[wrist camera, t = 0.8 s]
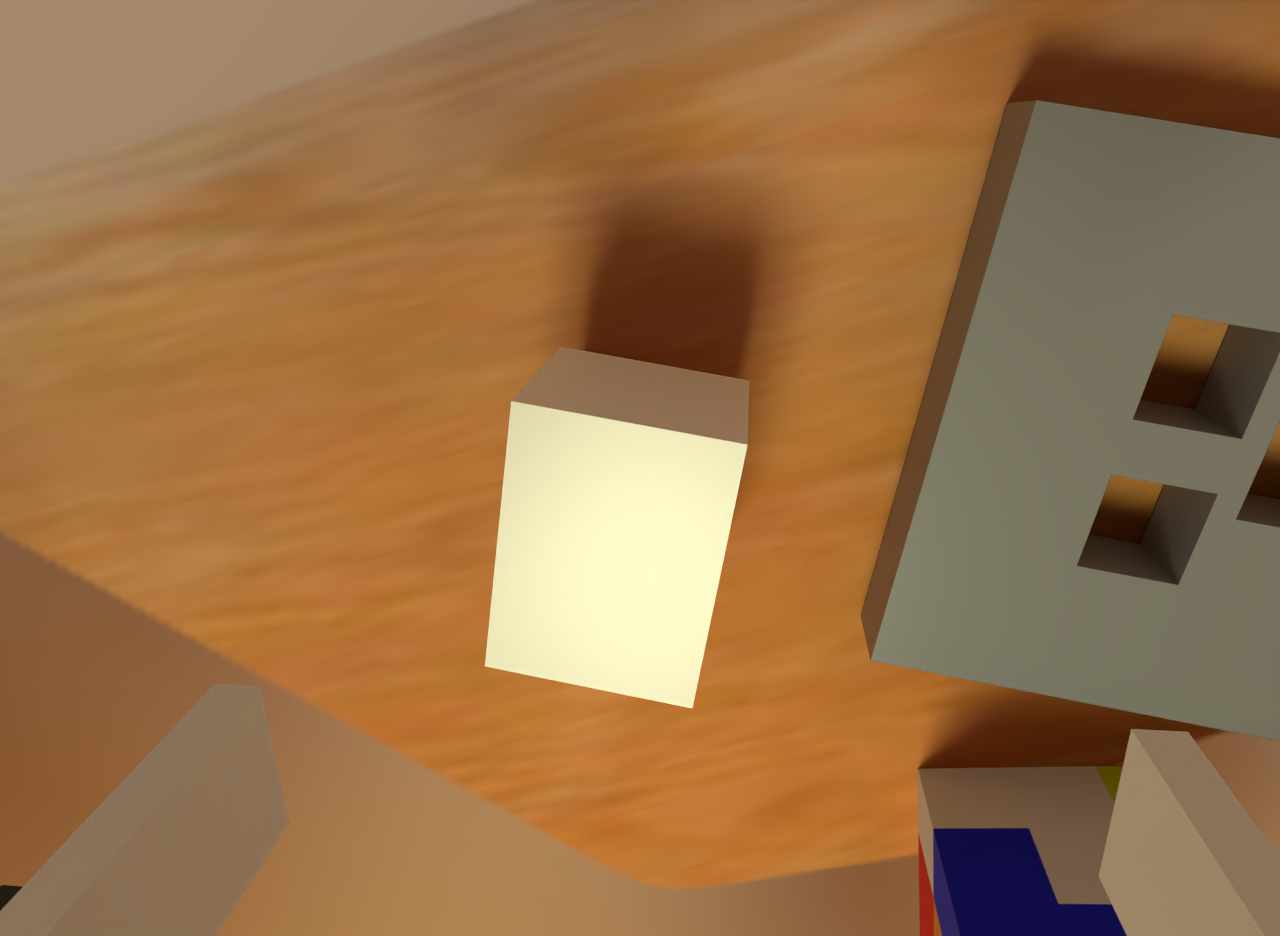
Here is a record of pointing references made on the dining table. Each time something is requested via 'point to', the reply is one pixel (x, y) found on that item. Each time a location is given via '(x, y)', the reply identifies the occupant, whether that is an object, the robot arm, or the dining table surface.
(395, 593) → the dining table surface
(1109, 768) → the puzzle toy
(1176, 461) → the socket plate
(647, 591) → the plug
